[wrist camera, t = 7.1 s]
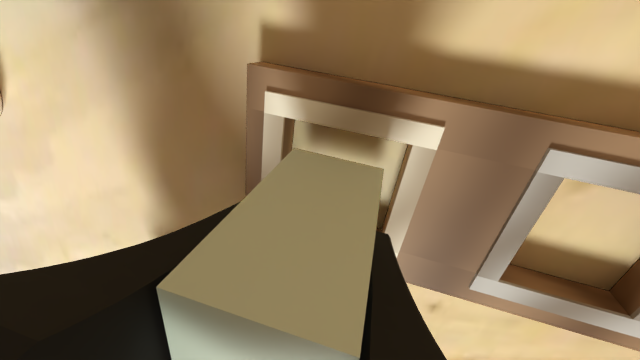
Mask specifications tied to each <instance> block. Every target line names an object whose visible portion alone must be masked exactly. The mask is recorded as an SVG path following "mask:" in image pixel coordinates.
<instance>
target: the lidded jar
mask: <svg viewBox="0 0 640 360" xmlns="http://www.w3.org/2000/svg"><path fill="white" fill-rule="evenodd" d="M2 109H3V103H2V97H1V93H0V116H1V114H2Z"/></svg>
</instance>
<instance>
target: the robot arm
mask: <svg viewBox="0 0 640 360" xmlns="http://www.w3.org/2000/svg"><path fill="white" fill-rule="evenodd" d="M239 203H240V202H239ZM239 203H237V204H235V205H233V206H231V207H229V208H227V209H225V210H222V211H220V212H218V213H216V214H214V215H212V216H210V217H208V218H205V219H203V220H201V221H199V222H196V223H194V224H191V225H189V226H187V227H184V228H182V229H180V230H177V231H175V232H172V233H170V234H167V235H164V236H161V237H159V238H156V239H153V240H150V241H147V242H144V243H141V244H138V245H134V246H131V247H127V248H124V249H120V250H116V251H113V252H109V253H106V254H102V255H98V256H94V257H90V258H86V259H81V260H77V261H73V262H68V263H63V264H58V265H53V266H49V267H43V268H38V269H32V270H26V271H20V272H14V273H8V274H1V275H0V360H172V359H171V354H170V350H169V345H168V340H167V336H166V331H165V326H164V322H163V317H162V312H161V308H160V303H159V298H158V294H157V289H156V287H157V286H158V285H159V284H160V283H161V282H162V281H163V280H164V279H165V278H166V277H167V276H168V275H169V274H170V273H171V272H172V271H173V270H174V269H175V268H176V267H177V266H178V264H179V263H180V262H181V261H182V260H183V259H184V258H185V257H186V256H187V255H188V254H189V253H190V252H191V251H192V250H193V249H194V248H195V247H196V246H197V245H198V244H199V243H200V242H201V241H202V240H203V239H204V238H205V237H206V236H207V235H208V234H209V233H210V232H211V231H212V230H213V229H214V228H215V227H216V226H217V225H218V224H219V223H220V222H221V221H222V220H223V219H224V218H225V217H226V216H227V215H228V214H229V213H230V212H231V211H232V210H233V209H234V208H235V207H236V206H237V205H238V204H239ZM359 360H447V359H446V358H445V356H444V354H443V353H442V351H441V350H440V348H439V346H438V345H437V343H436V341H435V340H434V338H433V336H432V334H431V332H430V331H429V329H428V327H427V325H426V324H425V322H424V320H423V318H422V316H421V314H420V312H419V310H418V308H417V306H416V304H415V302H414V300H413V298H412V296H411V293H410V291H409V289H408V287H407V284H406V282H405V279H404V277H403V274H402V272H401V269H400V267H399V264H398V261H397V258H396V255H395V252H394V249H393V246H392V242H391V238H390V236H389V235H388V234H386V233H382V232H378V231H376V235H375V242H374V250H373V258H372V266H371V274H370V282H369V290H368V298H367V305H366V313H365V321H364V329H363V337H362V345H361V353H360V359H359Z"/></svg>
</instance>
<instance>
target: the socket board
mask: <svg viewBox="0 0 640 360" xmlns="http://www.w3.org/2000/svg"><path fill="white" fill-rule="evenodd" d="M295 120H300V121H304V122H309V123H313V124H318V125H323V126H327V127H332V128H337V129H341V130H346V131H350V132H355V133H360V134H364V135H369V136H374V137H378V138H383V139H387V140H392V141H397V142H401V143H406V144H408V147H407V150H406V153H405V157H404V160H403V163H402V166H401V169H400V173H399V176H398V179H397V182H396V185H395V189H394V192H393V195H392V198H391V201H390V204H389V208H388V211H387V214H386V217H385V220H384V224H383V227H382V230H380V229H376V231H378V232H382V233H386V234H388V235H389V236H390V238H391V242H392V246H393V249H394V252H395V255H396V258H397V261H398V264H399V267H400V269H401V272H402V274H403V277H404V279H405V282H406V283H410V284H413V285H417V286H420V287H423V288H427V289H430V290H434V291H437V292H440V293H444V294H447V295H450V296H454V297H457V298H461V299H464V300H467V301H471V302H474V303H478V304H481V305H484V306H488V307H491V308H495V309H498V310H501V311H505V312H508V313H511V314H515V315H518V316H522V317H525V318H528V319H532V320H535V321H539V322H542V323H545V324H549V325H552V326H555V327H559V328H562V329H566V330H569V331H572V332H576V333H579V334H583V335H586V336H589V337H593V338H596V339H599V340H603V341H606V342H610V343H613V344H616V345H620V346H623V347H627V348H630V349H633V350H637V351H640V259H639V260H638V261H637V262H636V263H635V264H634V265H633V267H632V268H631V269H630V270H629V271H628V272H627V273H626V274H625V275H624V276H623V277H622V278H621V279H620V280H619V281H618V282H617V283H616V285H615V286H614V287H613V288H612V289H611V290H610V291H606V290H603V289H599V288H595V287H592V286H588V285H584V284H580V283H577V282H573V281H569V280H566V279H562V278H558V277H555V276H551V275H547V274H543V273H540V272H536V271H532V270H529V269H525V268H521V267H517V266H514V265H510V264H509V263H510V262H511V260H512V259H513V257H514V256H515V254H516V253H517V251H518V249H519V248H520V246H521V245H522V243H523V242H524V240H525V239H526V237H527V235H528V234H529V232H530V231H531V229H532V228H533V226H534V225H535V223H536V221H537V220H538V218H539V217H540V215H541V214H542V212H543V211H544V209H545V207H546V206H547V204H548V203H549V201H550V200H551V198H552V197H553V195H554V193H555V192H556V190H557V189H558V187H559V186H560V184H561V183H562V181H563V180H564V178H567V179H572V180H577V181H581V182H586V183H590V184H595V185H600V186H604V187H609V188H614V189H618V190H623V191H627V192H632V193H637V194H640V132H638V131H632V130H627V129H621V128H616V127H611V126H605V125H600V124H594V123H589V122H584V121H578V120H573V119H568V118H562V117H557V116H551V115H546V114H541V113H535V112H530V111H524V110H519V109H514V108H508V107H503V106H497V105H492V104H487V103H481V102H476V101H470V100H465V99H460V98H454V97H449V96H444V95H438V94H433V93H427V92H422V91H417V90H411V89H406V88H400V87H395V86H390V85H384V84H379V83H373V82H368V81H363V80H357V79H352V78H346V77H341V76H336V75H330V74H325V73H320V72H314V71H309V70H303V69H298V68H293V67H287V66H282V65H276V64H271V63H266V62H257V63H250V64H247V133H246V196H247V195H248V194H249V193H250V192H251V191H252V190H253V189H254V188H255V187H256V186H257V185H258V184H259V183H260V182H261V181H262V180H263V179H264V178H265V177H266V176H267V175H268V174H269V173H270V172H271V171H272V170H273V169H274V168H275V167H276V166H277V165H278V164H279V163H280V162H281V161H282V160H283V159H284V158H285V157H286V156H287V155H288V154H289V153H290V152H291V151H292V142H293V131H294V121H295Z"/></svg>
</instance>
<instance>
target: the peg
mask: <svg viewBox="0 0 640 360" xmlns="http://www.w3.org/2000/svg"><path fill="white" fill-rule="evenodd" d="M383 172H384V169H382V168H377V167H373V166H369V165H365V164H360V163H356V162H352V161H347V160H343V159H339V158H335V157H330V156H326V155H322V154H318V153H313V152H309V151H305V150H300V149H296V148H294V149H293V150H292V151H291V152H290V153H289V154H288V155H287V156H286V157H285V158H284V159H283V160H282V161H281V162H280V163H279V164H278V165H277V166H276V167H275V168H274V169H273V170H272V171H271V172H270V173H269V174H268V175H267V176H266V177H265V178H264V179H263V180H262V181H261V182H260V183H259V184H258V185H257V186H256V187H255V188H254V189H253V190H252V191H251V192H250V193H249V194H248V195H247V196H246V197H245V198H244V199H243V200H242V201H241V202H240V203H239V204H238V205H237V206H236V207H235V208H234V209H233V210H232V211H231V212H230V213H229V214H228V215H227V216H226V217H225V218H224V219H223V220H222V221H221V222H220V223H219V224H218V225H217V226H216V227H215V228H214V229H213V230H212V231H211V232H210V233H209V234H208V235H207V236H206V237H205V238H204V239H203V240H202V241H201V242H200V243H199V244H198V245H197V246H196V247H195V248H194V249H193V250H192V251H191V252H190V253H189V254H188V255H187V256H186V257H185V258H184V259H183V260H182V261H181V262H180V263H179V264H178V266H177V267H176V268H175V269H174V270H173V271H172V272H171V273H170V274H169V275H168V276H167V277H166V278H165V279H164V280H163V281H162V282H161V283H160V284H159V285H158V286H157V287H156V289H157V294H158V298H159V303H160V308H161V312H162V317H163V322H164V326H165V331H166V336H167V340H168V345H169V350H170V354H171V359H172V360H359V359H360V353H361V345H362V337H363V329H364V321H365V313H366V305H367V298H368V290H369V282H370V274H371V266H372V258H373V250H374V242H375V235H376V227H377V219H378V211H379V203H380V195H381V187H382V179H383Z"/></svg>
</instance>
